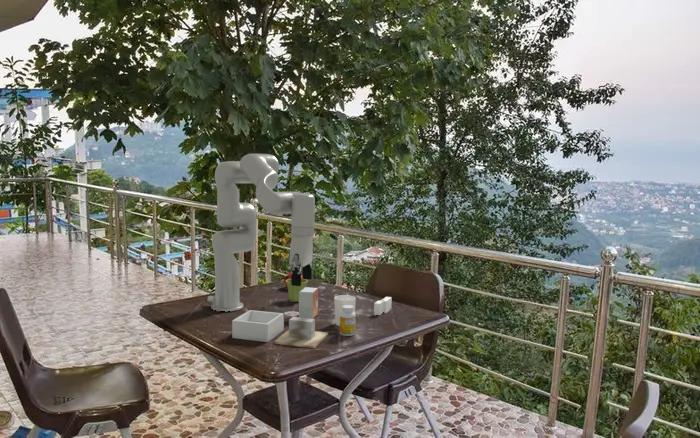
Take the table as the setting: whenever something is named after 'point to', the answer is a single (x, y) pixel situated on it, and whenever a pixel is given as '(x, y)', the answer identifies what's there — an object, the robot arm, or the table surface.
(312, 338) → the cover plate
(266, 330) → the shallow square tray
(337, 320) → the white cup
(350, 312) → the supplement bottle
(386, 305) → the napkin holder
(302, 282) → the plant pot
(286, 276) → the pomegranate
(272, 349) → the table surface
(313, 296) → the small box
